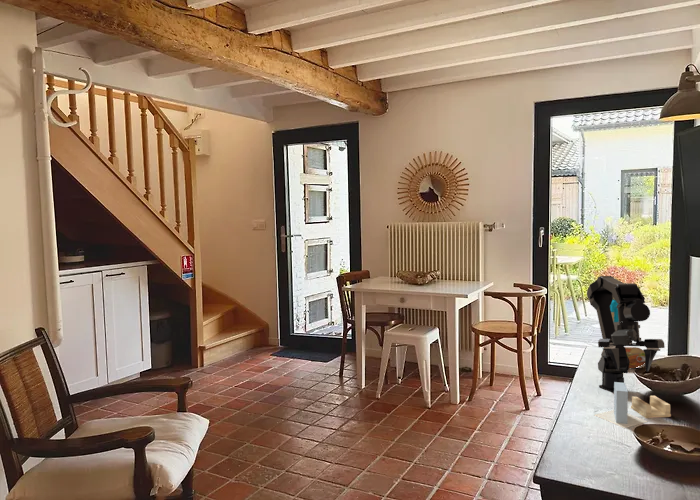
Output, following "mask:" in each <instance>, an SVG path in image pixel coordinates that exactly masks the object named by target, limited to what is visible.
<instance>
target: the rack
mask: <svg viewBox="0 0 700 500" xmlns="http://www.w3.org/2000/svg"><path fill="white" fill-rule="evenodd" d="M630 409H632V410H633V411H635V412H636V413H637V414H639V415H641V416H642V417H643V418H645V419H649V418H650V419H651V418H669V417H672V414H671V404H670V403H668V402H666V401H665V400H663V399H661V398H659V397H658V396H656V395H650V396H649V403H648V402H646V401H645V400H643V399H641V398H640V397H638V396H631V405H630Z"/></svg>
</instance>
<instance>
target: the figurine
mask: <svg viewBox="0 0 700 500" xmlns="http://www.w3.org/2000/svg"><path fill="white" fill-rule="evenodd" d="M617 305H618V303H617V302H616V300H615V299H614V298H613V300H612V303H611V305H610V309H611V314H612V318H613V322H614V327H615V331H617V325H619V319H618V308H617Z"/></svg>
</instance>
